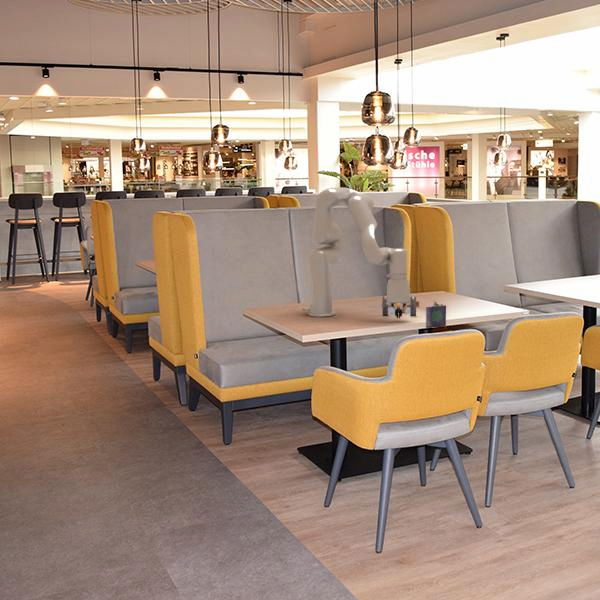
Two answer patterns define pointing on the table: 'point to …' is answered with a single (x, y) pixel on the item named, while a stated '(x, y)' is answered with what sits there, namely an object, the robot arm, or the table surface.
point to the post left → (384, 306)
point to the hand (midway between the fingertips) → (398, 317)
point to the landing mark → (392, 310)
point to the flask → (436, 315)
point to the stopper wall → (409, 305)
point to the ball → (402, 309)
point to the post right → (413, 306)
